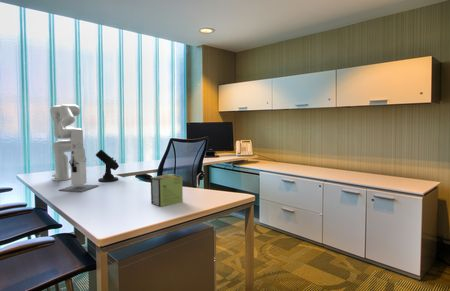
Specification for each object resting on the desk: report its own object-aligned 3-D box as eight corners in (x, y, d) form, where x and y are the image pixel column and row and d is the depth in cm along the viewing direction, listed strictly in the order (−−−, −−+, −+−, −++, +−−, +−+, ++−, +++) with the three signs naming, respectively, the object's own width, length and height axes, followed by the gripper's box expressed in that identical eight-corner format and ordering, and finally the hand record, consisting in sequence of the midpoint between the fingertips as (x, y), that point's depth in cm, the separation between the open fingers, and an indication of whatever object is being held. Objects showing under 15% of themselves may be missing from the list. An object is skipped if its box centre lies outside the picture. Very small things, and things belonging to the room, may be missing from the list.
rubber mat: (58, 190, 203) (58, 189, 203) (77, 185, 220) (76, 184, 220) (81, 192, 199) (81, 191, 199) (98, 186, 217) (98, 185, 217)
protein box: (183, 201, 176) (182, 175, 174) (160, 207, 165) (159, 179, 164) (172, 198, 183) (172, 173, 182) (150, 203, 172) (150, 177, 171)
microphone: (96, 179, 242) (95, 149, 239) (118, 177, 249) (117, 148, 247) (96, 183, 228) (95, 150, 226) (120, 181, 235) (119, 149, 233)
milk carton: (86, 183, 213) (85, 157, 211) (81, 185, 206) (79, 158, 204) (77, 183, 213) (76, 156, 212) (71, 185, 206) (70, 158, 205)
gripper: (73, 147, 198) (74, 173, 200) (90, 145, 215) (91, 169, 217) (63, 147, 200) (64, 173, 201) (81, 145, 217) (82, 169, 218)
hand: (78, 171), depth 209 cm, fingers closed on milk carton, 7 cm apart
